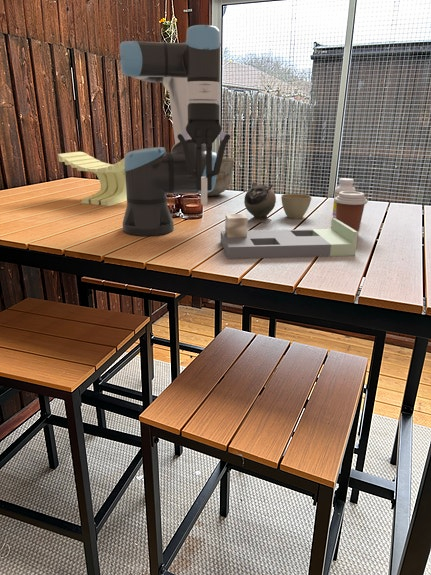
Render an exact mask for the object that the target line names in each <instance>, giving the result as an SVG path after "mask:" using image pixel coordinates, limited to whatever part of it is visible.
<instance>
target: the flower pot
mask: <svg viewBox="0 0 431 575" xmlns="http://www.w3.org/2000/svg"><path fill="white" fill-rule="evenodd" d="M280 200H281V205H282V208H283V211H284V213H285V216H286V217H287V218H288V219H297V220H298V219H302V218H303V217H304V216H305V214H306V213H307V211H308V210H309V208H310V204H311V201H312V196H311V195H308V194H302V193H285V194H282V195H281V199H280Z"/></svg>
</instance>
